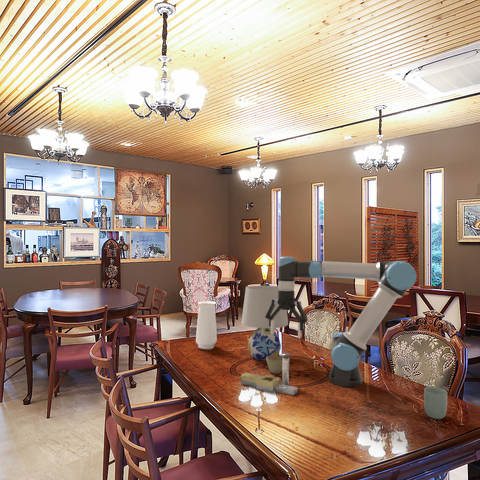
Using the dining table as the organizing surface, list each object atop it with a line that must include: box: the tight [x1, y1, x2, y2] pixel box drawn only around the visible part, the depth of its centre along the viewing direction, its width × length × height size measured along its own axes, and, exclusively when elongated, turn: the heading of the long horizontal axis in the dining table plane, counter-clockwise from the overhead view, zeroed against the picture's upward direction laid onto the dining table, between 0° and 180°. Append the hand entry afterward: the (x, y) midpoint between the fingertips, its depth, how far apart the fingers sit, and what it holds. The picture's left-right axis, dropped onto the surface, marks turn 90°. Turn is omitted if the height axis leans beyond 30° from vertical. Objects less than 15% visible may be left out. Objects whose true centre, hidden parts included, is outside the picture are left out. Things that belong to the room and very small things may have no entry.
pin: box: [281, 352, 291, 386], centre depth 177 cm, size 4×4×14 cm
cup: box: [423, 386, 448, 420], centre depth 145 cm, size 8×8×10 cm
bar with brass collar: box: [240, 372, 298, 396], centre depth 172 cm, size 26×8×4 cm, turn 61°
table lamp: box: [241, 285, 289, 361], centre depth 222 cm, size 27×27×40 cm
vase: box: [195, 300, 218, 350], centre depth 241 cm, size 13×13×28 cm
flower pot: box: [265, 355, 283, 375], centre depth 195 cm, size 10×10×7 cm
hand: (285, 335), depth 177 cm, fingers open, 13 cm apart
